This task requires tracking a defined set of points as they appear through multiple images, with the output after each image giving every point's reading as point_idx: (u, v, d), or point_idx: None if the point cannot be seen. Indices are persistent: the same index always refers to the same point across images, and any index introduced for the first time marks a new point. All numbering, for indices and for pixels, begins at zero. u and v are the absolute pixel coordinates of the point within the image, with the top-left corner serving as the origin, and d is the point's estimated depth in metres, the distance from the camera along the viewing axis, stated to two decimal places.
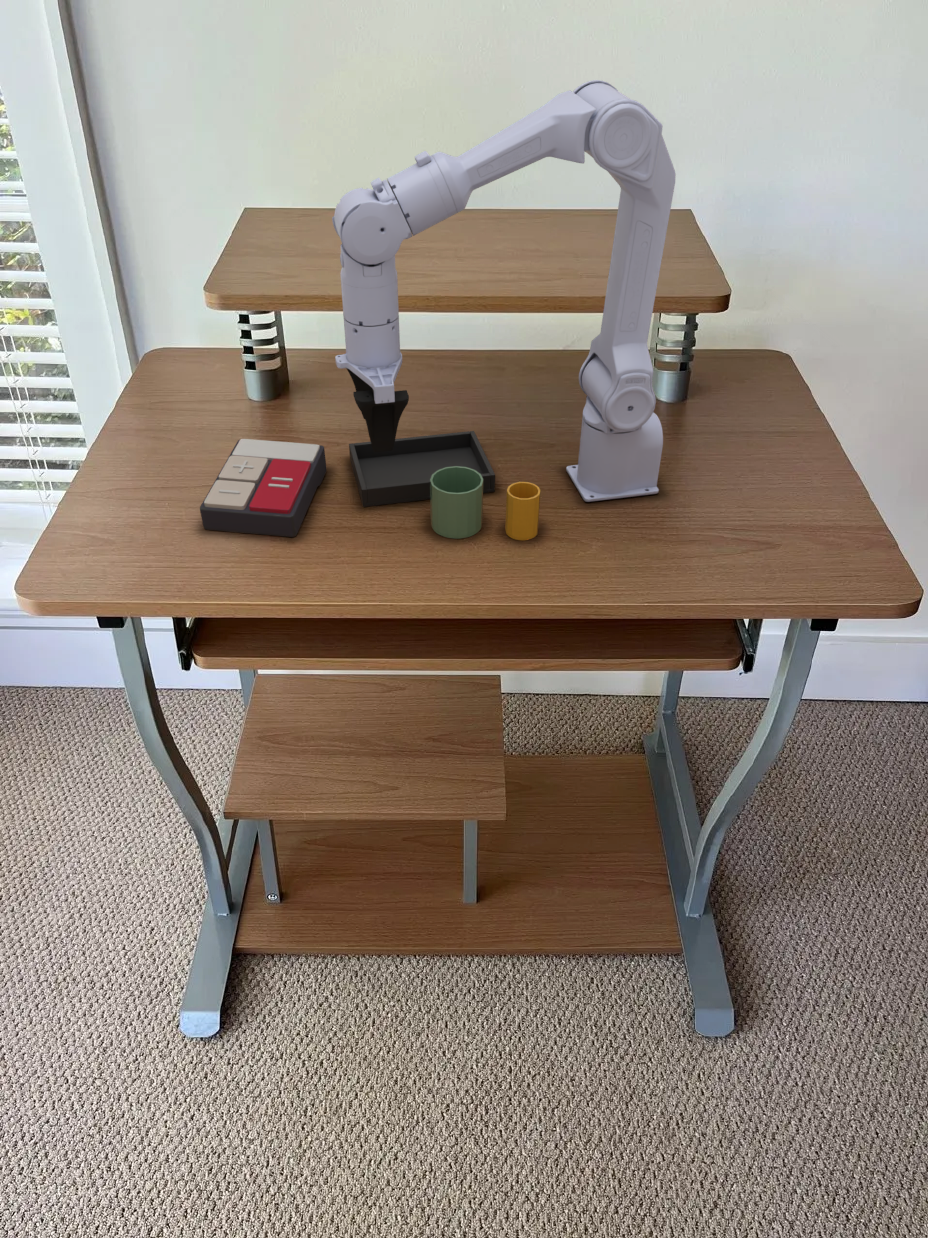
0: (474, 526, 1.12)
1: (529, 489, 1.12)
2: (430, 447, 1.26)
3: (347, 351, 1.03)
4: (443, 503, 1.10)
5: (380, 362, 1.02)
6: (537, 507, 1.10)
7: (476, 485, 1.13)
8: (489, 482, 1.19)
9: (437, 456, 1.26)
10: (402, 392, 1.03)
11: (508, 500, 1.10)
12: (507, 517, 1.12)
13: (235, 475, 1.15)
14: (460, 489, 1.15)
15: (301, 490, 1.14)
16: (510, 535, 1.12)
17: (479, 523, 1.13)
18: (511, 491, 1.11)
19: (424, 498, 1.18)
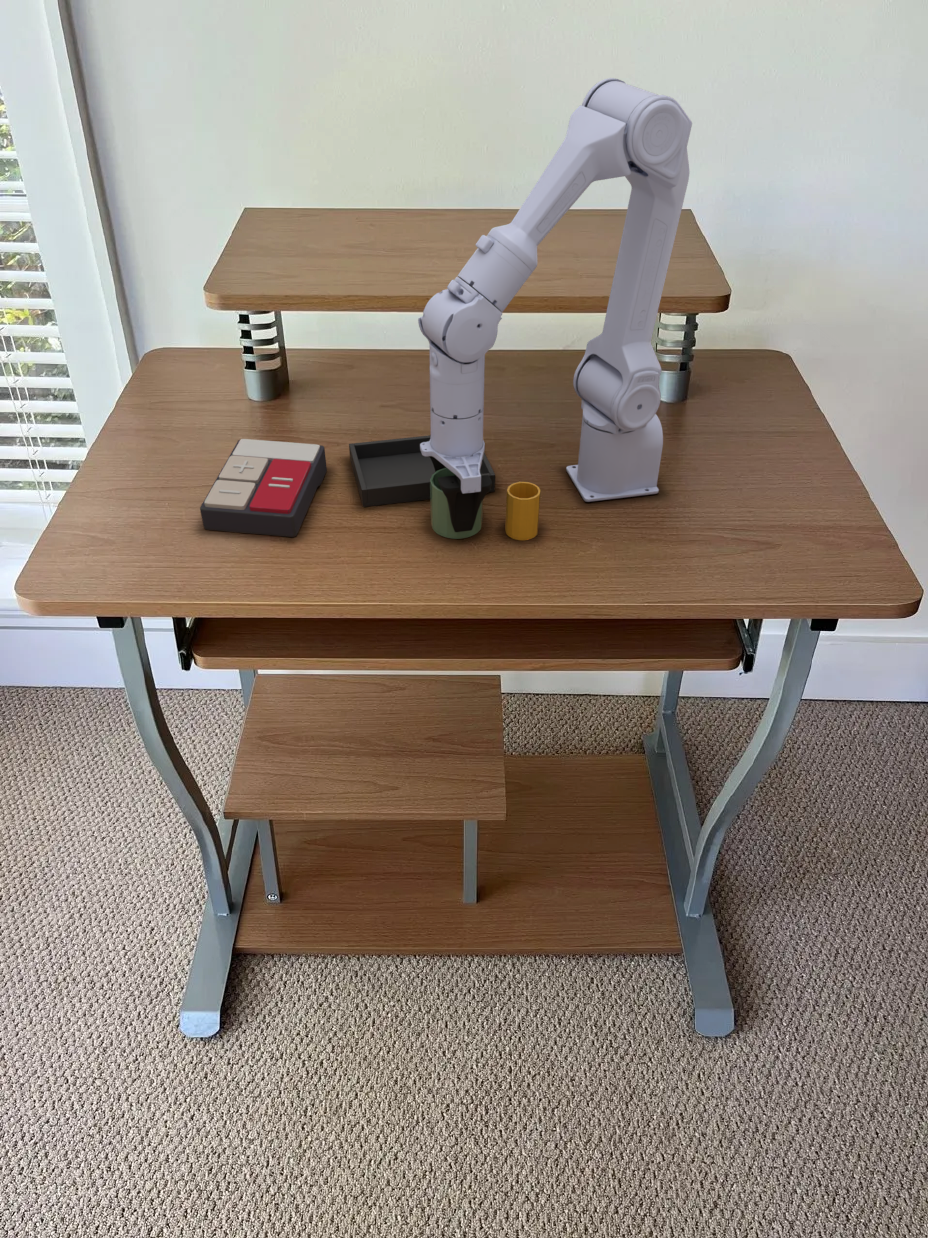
0: (474, 526, 1.12)
1: (529, 489, 1.12)
2: None
3: (432, 440, 1.06)
4: (443, 503, 1.10)
5: (465, 451, 1.05)
6: (537, 507, 1.10)
7: None
8: None
9: None
10: (485, 477, 1.07)
11: (508, 500, 1.10)
12: (507, 517, 1.12)
13: (235, 475, 1.15)
14: None
15: (301, 490, 1.14)
16: (510, 535, 1.12)
17: (479, 523, 1.13)
18: (511, 491, 1.11)
19: (424, 498, 1.18)
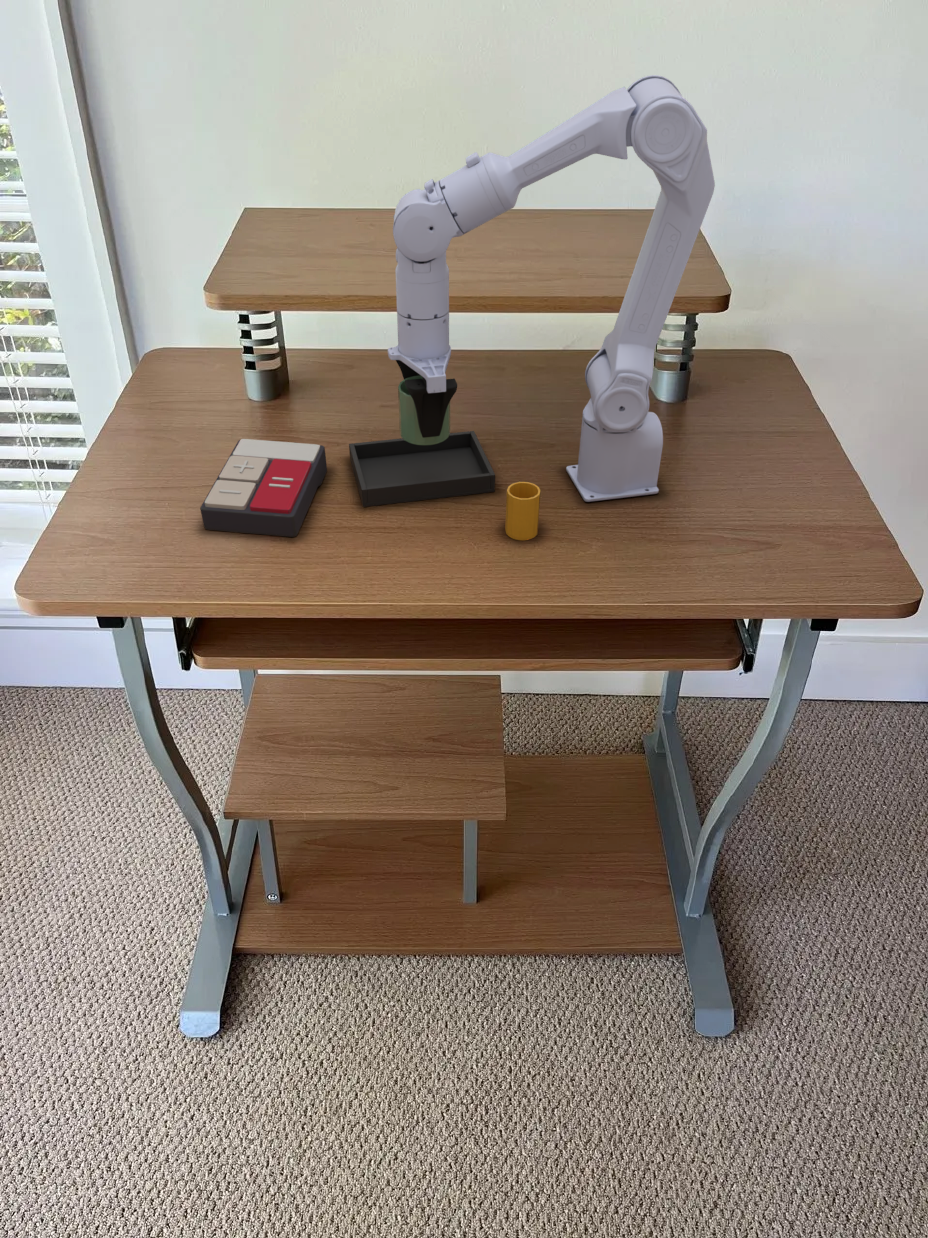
0: (442, 433, 1.15)
1: (529, 489, 1.12)
2: (430, 447, 1.26)
3: (399, 344, 1.09)
4: (410, 408, 1.12)
5: (431, 354, 1.08)
6: (537, 507, 1.10)
7: None
8: (489, 482, 1.19)
9: (437, 456, 1.26)
10: (451, 380, 1.09)
11: (508, 500, 1.10)
12: (507, 517, 1.12)
13: (236, 475, 1.15)
14: None
15: (302, 490, 1.14)
16: (510, 535, 1.12)
17: (447, 430, 1.15)
18: (511, 491, 1.11)
19: (424, 498, 1.18)
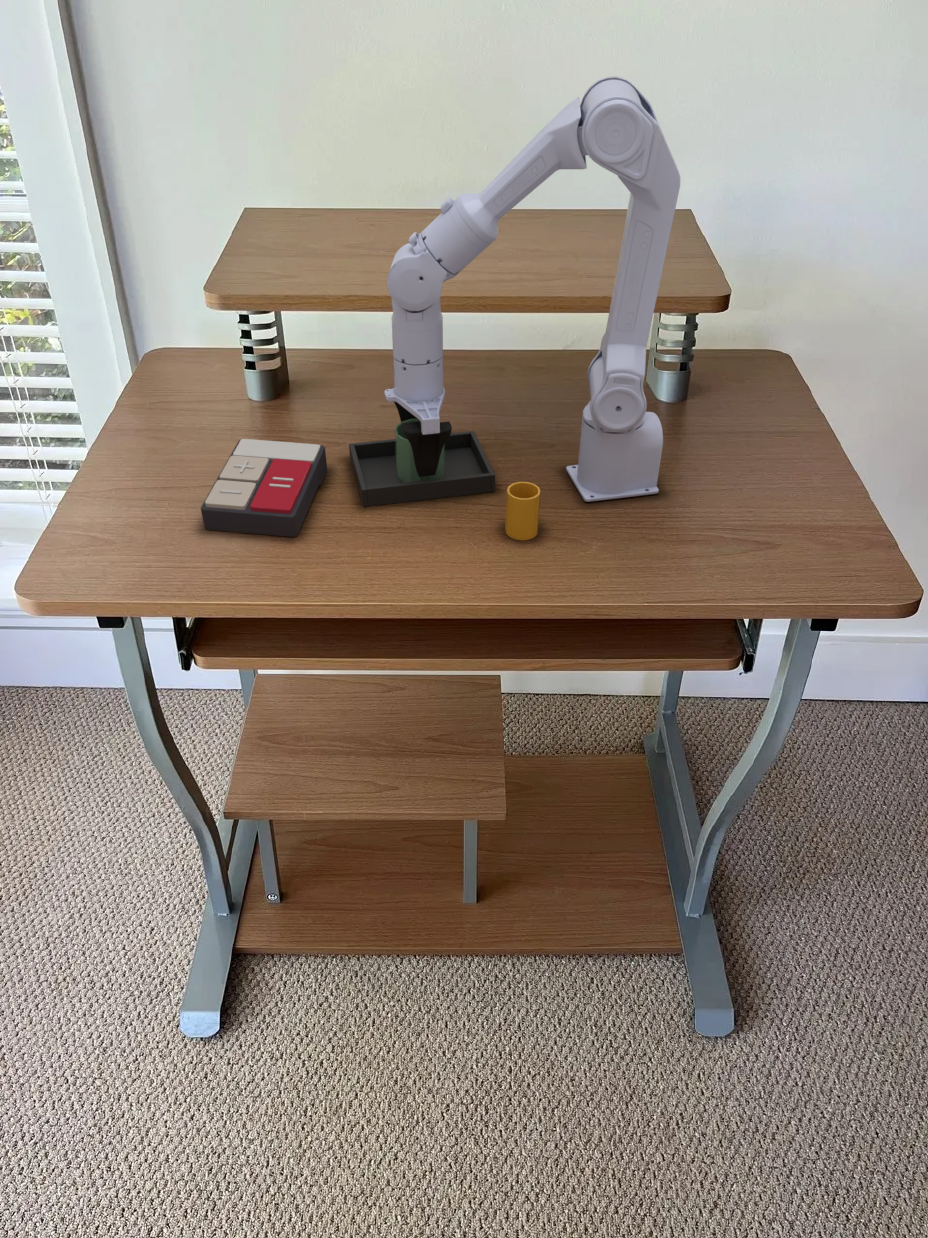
0: (436, 474, 1.20)
1: (529, 489, 1.12)
2: None
3: (396, 386, 1.14)
4: (406, 451, 1.18)
5: (426, 396, 1.13)
6: (537, 507, 1.10)
7: None
8: (489, 482, 1.19)
9: None
10: (445, 423, 1.14)
11: (508, 500, 1.10)
12: (507, 517, 1.12)
13: (236, 475, 1.15)
14: None
15: (302, 490, 1.14)
16: (510, 535, 1.12)
17: (441, 471, 1.21)
18: (511, 491, 1.11)
19: (424, 498, 1.18)
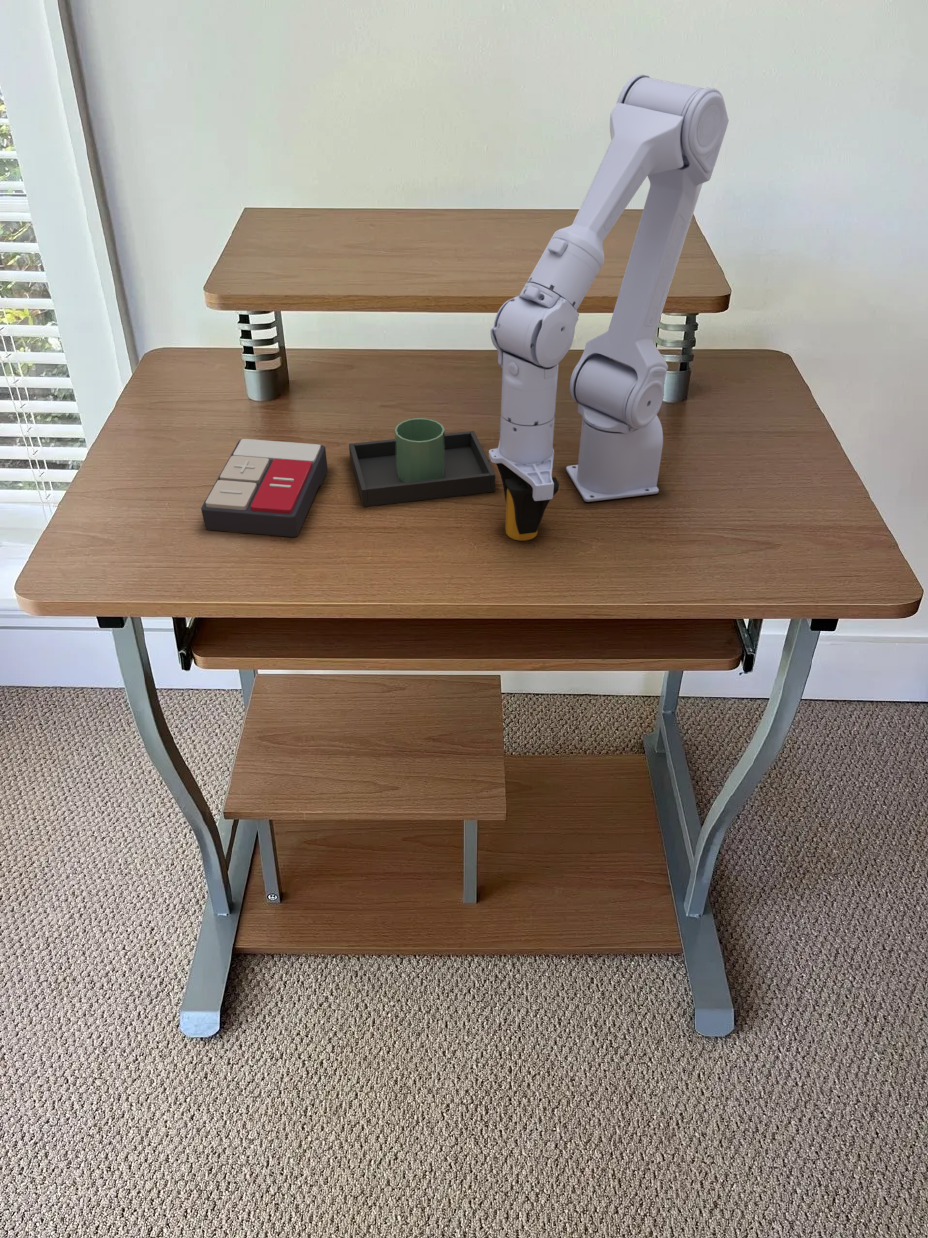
0: (436, 474, 1.20)
1: None
2: None
3: (502, 447, 1.05)
4: (406, 451, 1.18)
5: (536, 458, 1.04)
6: None
7: (438, 436, 1.21)
8: (489, 482, 1.19)
9: None
10: (552, 479, 1.07)
11: (508, 500, 1.10)
12: (507, 517, 1.12)
13: (236, 475, 1.15)
14: (424, 440, 1.23)
15: (302, 490, 1.14)
16: (510, 535, 1.12)
17: (441, 471, 1.21)
18: None
19: (424, 498, 1.18)
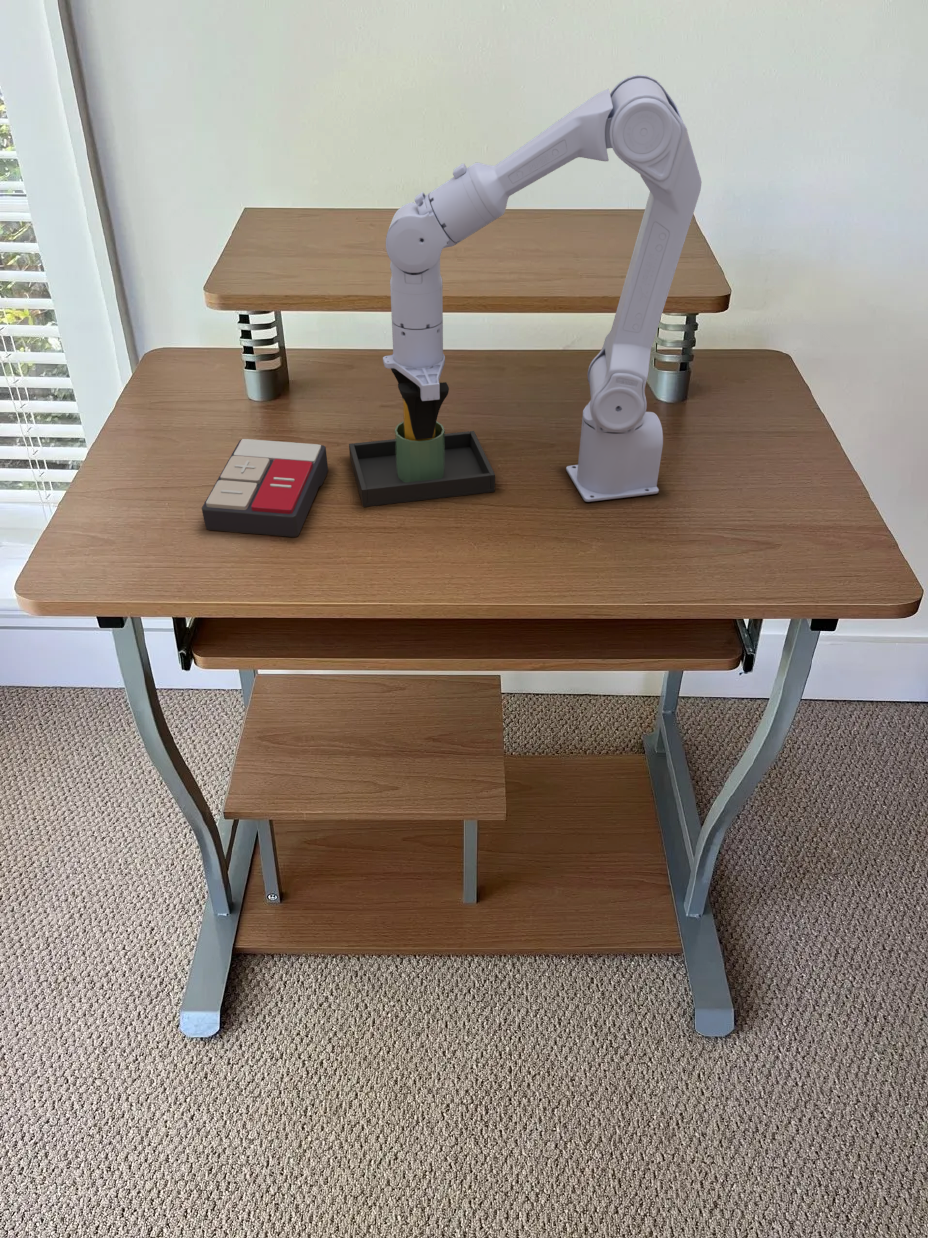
0: (436, 474, 1.20)
1: None
2: None
3: (394, 352, 1.11)
4: (406, 451, 1.18)
5: (425, 362, 1.11)
6: None
7: (438, 436, 1.21)
8: (489, 482, 1.19)
9: None
10: (442, 384, 1.13)
11: (404, 407, 1.16)
12: (404, 424, 1.18)
13: (237, 475, 1.15)
14: None
15: (303, 490, 1.14)
16: None
17: (441, 471, 1.21)
18: None
19: (424, 498, 1.18)
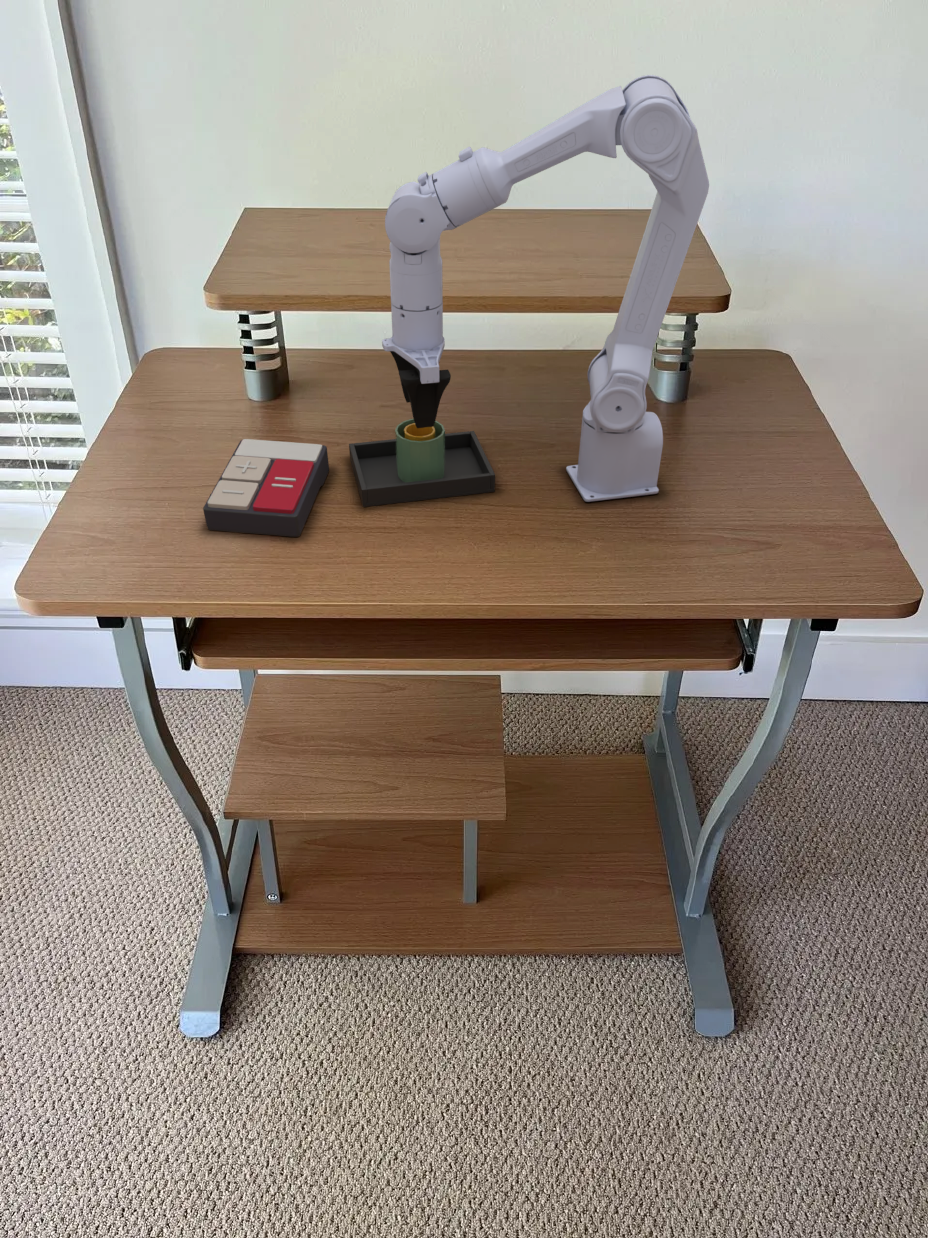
0: (437, 474, 1.20)
1: (426, 430, 1.21)
2: None
3: (394, 335, 1.10)
4: (407, 451, 1.18)
5: (425, 345, 1.09)
6: None
7: (439, 436, 1.21)
8: (489, 482, 1.19)
9: None
10: (444, 371, 1.11)
11: (405, 438, 1.19)
12: None
13: (238, 475, 1.15)
14: None
15: (304, 490, 1.14)
16: None
17: (441, 471, 1.21)
18: (409, 431, 1.20)
19: (424, 498, 1.18)
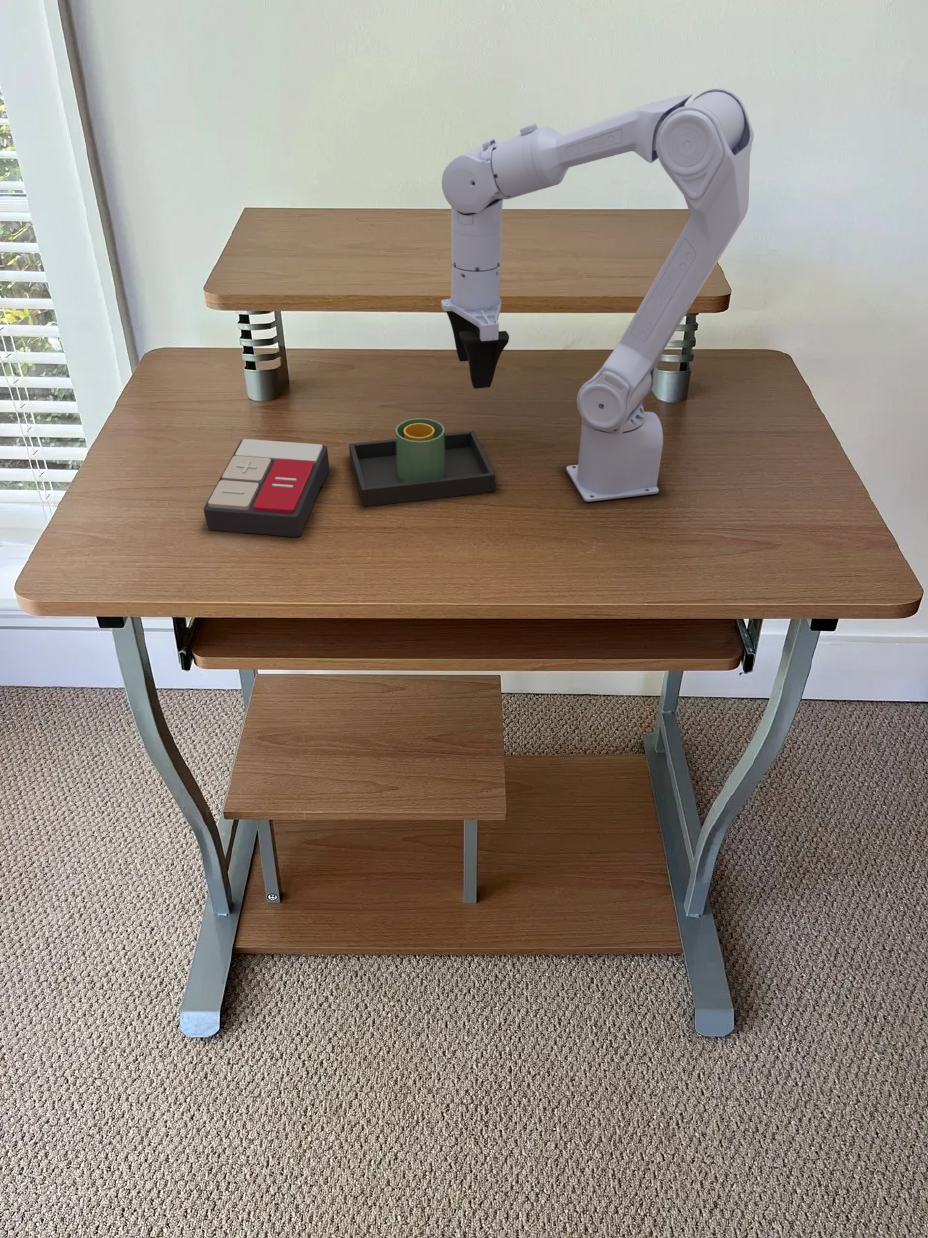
0: (437, 474, 1.20)
1: (426, 430, 1.20)
2: None
3: (453, 295, 1.14)
4: (407, 451, 1.18)
5: (483, 305, 1.14)
6: None
7: (439, 436, 1.21)
8: (489, 482, 1.19)
9: None
10: (502, 332, 1.15)
11: None
12: None
13: (238, 475, 1.15)
14: None
15: (305, 490, 1.14)
16: None
17: (441, 471, 1.21)
18: (408, 431, 1.20)
19: (424, 498, 1.18)
